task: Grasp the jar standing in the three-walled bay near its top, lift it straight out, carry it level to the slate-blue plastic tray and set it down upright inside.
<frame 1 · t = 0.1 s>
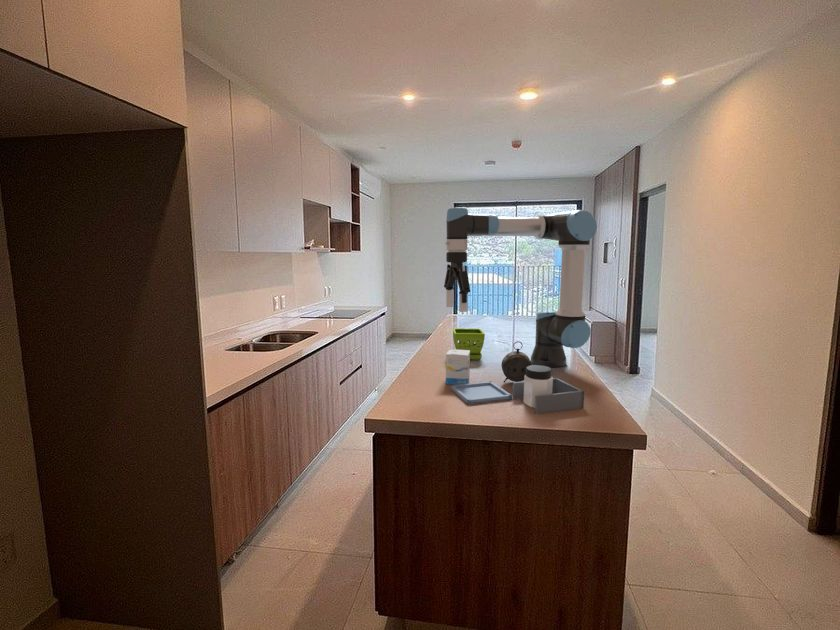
hand: (456, 309, 160), 28 cm above the table, fingers open, 13 cm apart
ink box: (457, 382, 165), on the table
jar: (537, 404, 141), on the table
flower pot: (467, 357, 202), on the table
alarm clock: (516, 384, 162), on the table
tray: (480, 394, 151), on the table
bay: (542, 403, 142), on the table
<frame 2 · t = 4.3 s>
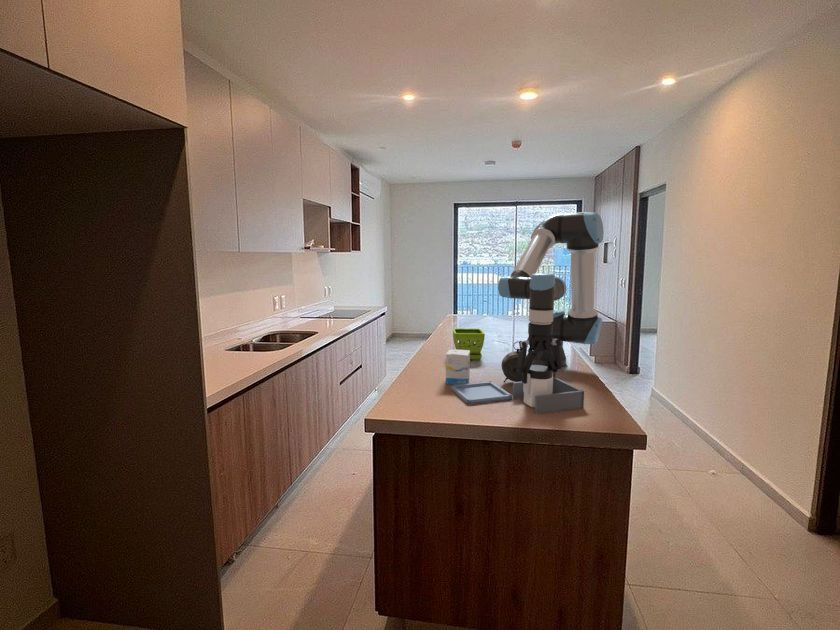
hand: (537, 391, 141), 4 cm above the table, fingers closed on jar, 8 cm apart
jar: (537, 404, 141), on the table, touching gripper
everything else where it was.
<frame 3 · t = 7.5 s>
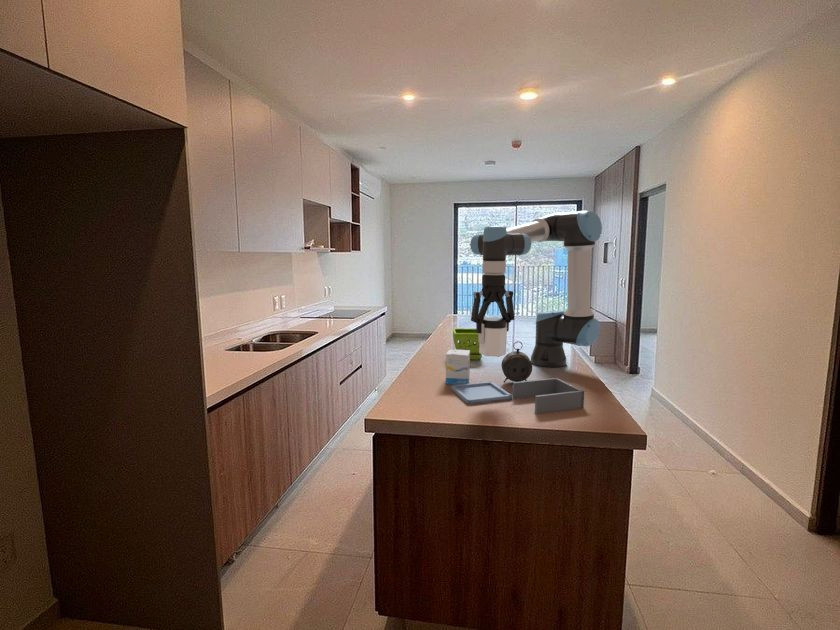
hand: (492, 341, 146), 19 cm above the table, fingers closed on jar, 8 cm apart
jar: (492, 354, 147), point 15 cm above the table, touching gripper
everything else where it was.
when the fingers open (5 cm above the table, at t = 10.7 s): jar stays where it is, resting on tray.
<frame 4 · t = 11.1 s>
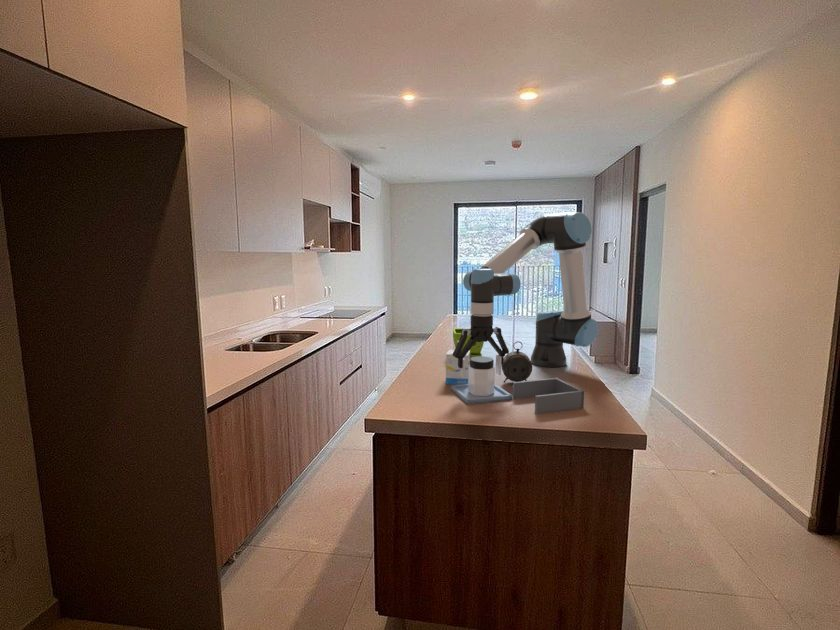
hand: (480, 375, 150), 7 cm above the table, fingers open, 13 cm apart
jar: (481, 393, 151), resting on tray
everything else where it was.
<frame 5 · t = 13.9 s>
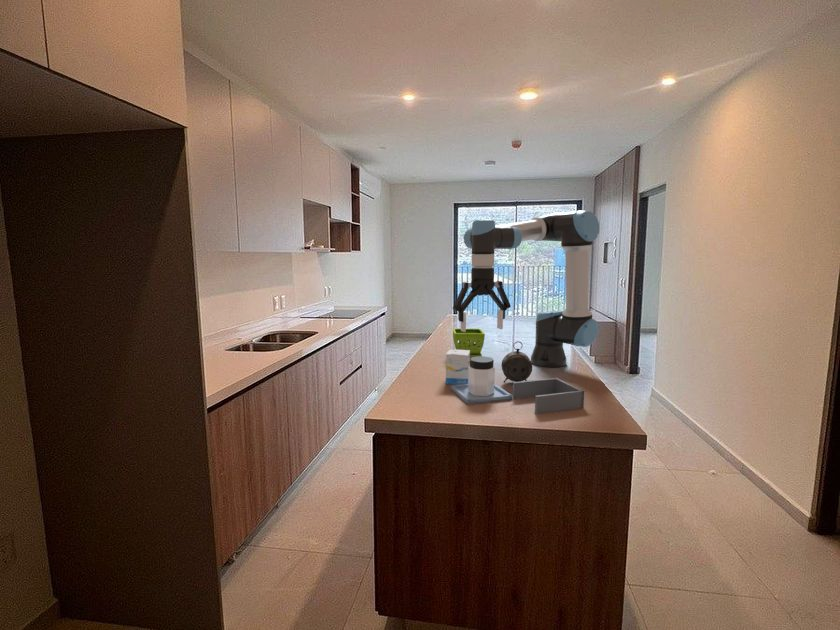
hand: (481, 329, 147), 23 cm above the table, fingers open, 13 cm apart
nothing on the table moved.
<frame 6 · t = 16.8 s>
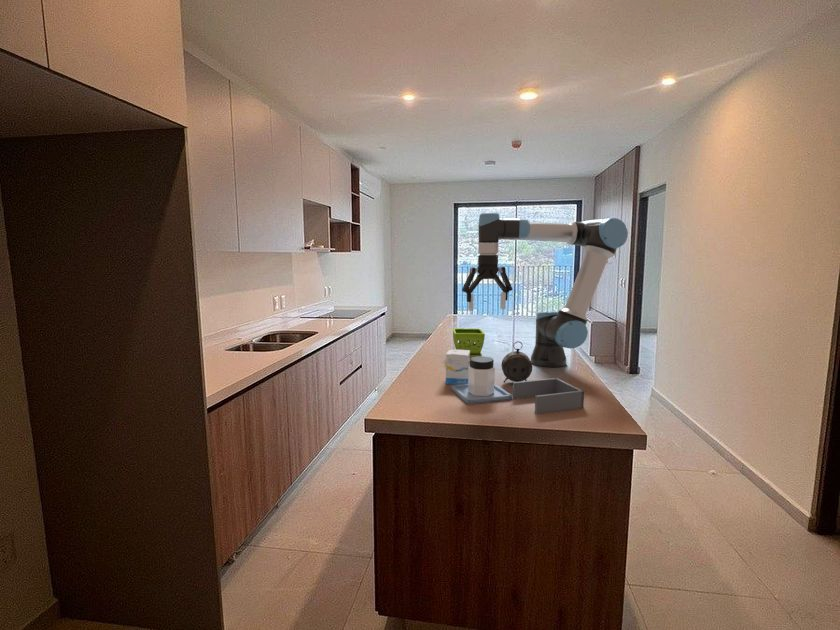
hand: (487, 309, 168), 27 cm above the table, fingers open, 13 cm apart
nothing on the table moved.
at the end: jar inside the target area on the tray (0.3 cm from its centre), point 0.4 cm above the tray's base; jar tilted 0°; the gripper is holding nothing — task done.
